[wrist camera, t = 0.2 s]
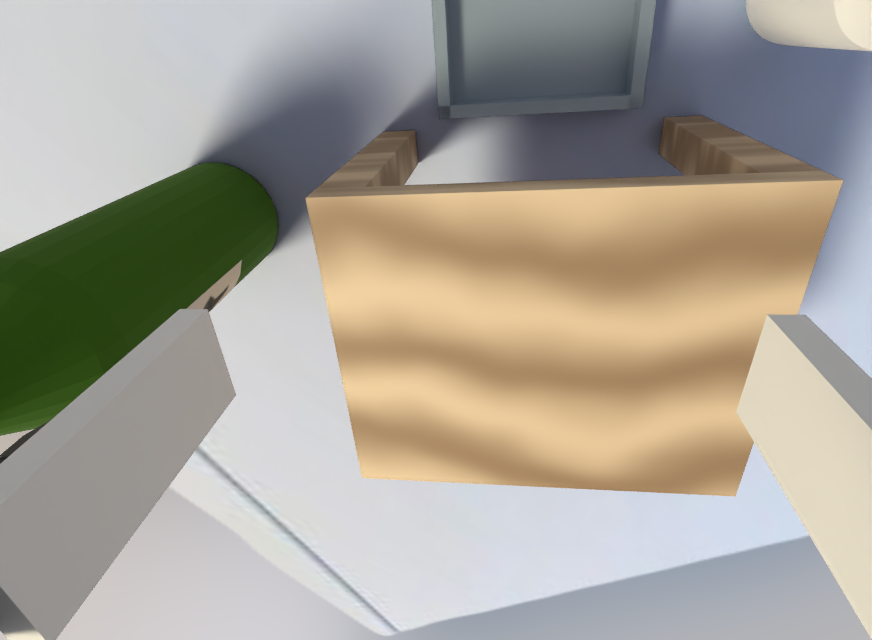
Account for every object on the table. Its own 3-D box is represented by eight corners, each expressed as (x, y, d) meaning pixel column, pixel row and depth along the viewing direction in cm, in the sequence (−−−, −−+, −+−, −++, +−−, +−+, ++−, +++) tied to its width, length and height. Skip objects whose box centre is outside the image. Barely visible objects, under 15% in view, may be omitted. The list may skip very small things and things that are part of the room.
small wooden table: (383, 131, 37) (305, 197, 22) (701, 115, 33) (843, 180, 19) (406, 338, 46) (362, 478, 31) (659, 340, 42) (735, 496, 28)
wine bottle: (250, 283, 45) (-173, 708, 17) (160, 220, 43) (-494, 586, 15) (299, 210, 40) (-154, 614, 13) (202, 136, 38) (-599, 426, 11)
